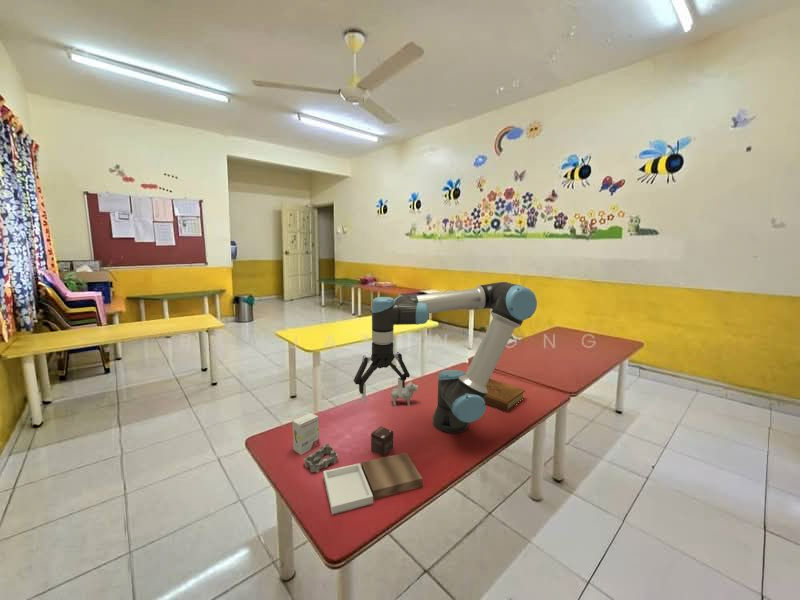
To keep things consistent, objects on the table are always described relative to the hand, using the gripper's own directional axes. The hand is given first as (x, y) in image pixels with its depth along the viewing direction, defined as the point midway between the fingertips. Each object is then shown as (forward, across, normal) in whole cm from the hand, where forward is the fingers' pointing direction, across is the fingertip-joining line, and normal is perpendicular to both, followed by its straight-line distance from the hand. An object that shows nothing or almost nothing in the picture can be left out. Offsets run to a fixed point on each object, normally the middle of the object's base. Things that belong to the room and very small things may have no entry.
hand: (382, 398), depth 122 cm
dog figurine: (+20, -21, -32) cm, 43 cm away
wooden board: (+20, +2, +16) cm, 26 cm away
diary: (+21, -65, -22) cm, 72 cm away
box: (+20, 0, 0) cm, 21 cm away
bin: (+20, +16, +16) cm, 31 cm away
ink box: (+21, +26, -11) cm, 35 cm away
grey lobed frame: (+21, +22, 0) cm, 30 cm away
